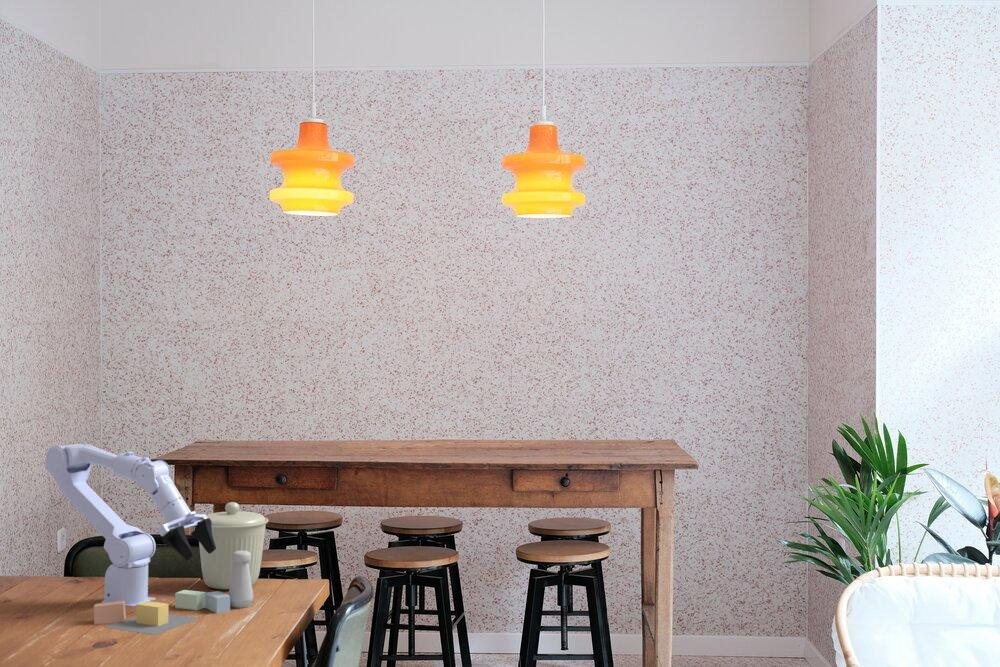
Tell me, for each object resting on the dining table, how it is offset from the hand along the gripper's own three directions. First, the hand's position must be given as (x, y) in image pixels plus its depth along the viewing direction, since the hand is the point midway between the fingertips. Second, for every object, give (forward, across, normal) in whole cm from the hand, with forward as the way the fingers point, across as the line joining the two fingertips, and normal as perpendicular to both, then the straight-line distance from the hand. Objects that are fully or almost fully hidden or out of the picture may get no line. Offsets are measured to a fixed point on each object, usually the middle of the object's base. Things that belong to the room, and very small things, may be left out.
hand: (201, 554), depth 228 cm
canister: (+4, +23, +16) cm, 29 cm away
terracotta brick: (+3, -17, +16) cm, 23 cm away
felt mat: (+9, -14, +9) cm, 19 cm away
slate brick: (+12, +1, +6) cm, 14 cm away
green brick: (+8, 0, +11) cm, 14 cm away
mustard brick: (+8, -14, +9) cm, 19 cm away
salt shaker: (+14, +6, +4) cm, 16 cm away
